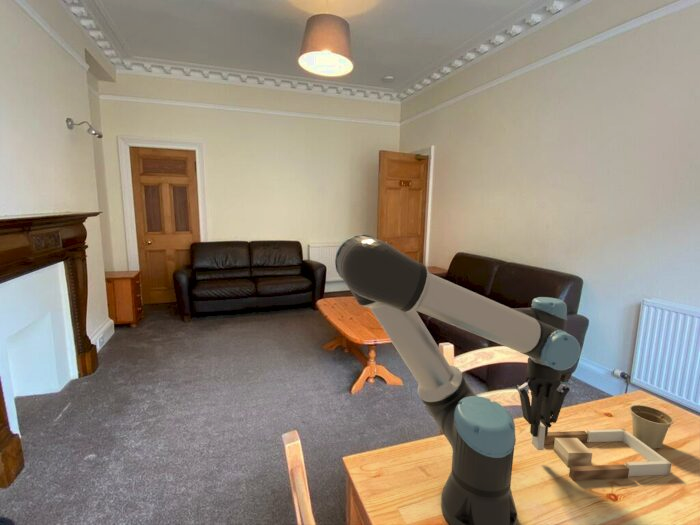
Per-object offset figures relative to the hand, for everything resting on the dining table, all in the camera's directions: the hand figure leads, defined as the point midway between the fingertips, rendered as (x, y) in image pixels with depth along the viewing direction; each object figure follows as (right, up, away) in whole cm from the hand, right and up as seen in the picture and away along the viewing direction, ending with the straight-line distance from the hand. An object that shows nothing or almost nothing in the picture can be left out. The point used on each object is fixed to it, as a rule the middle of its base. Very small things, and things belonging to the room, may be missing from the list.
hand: (537, 446), depth 92 cm
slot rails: (+11, -4, +1) cm, 12 cm away
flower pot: (+35, -3, +8) cm, 36 cm away
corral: (+24, -4, +2) cm, 25 cm away
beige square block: (+9, -4, +1) cm, 10 cm away
